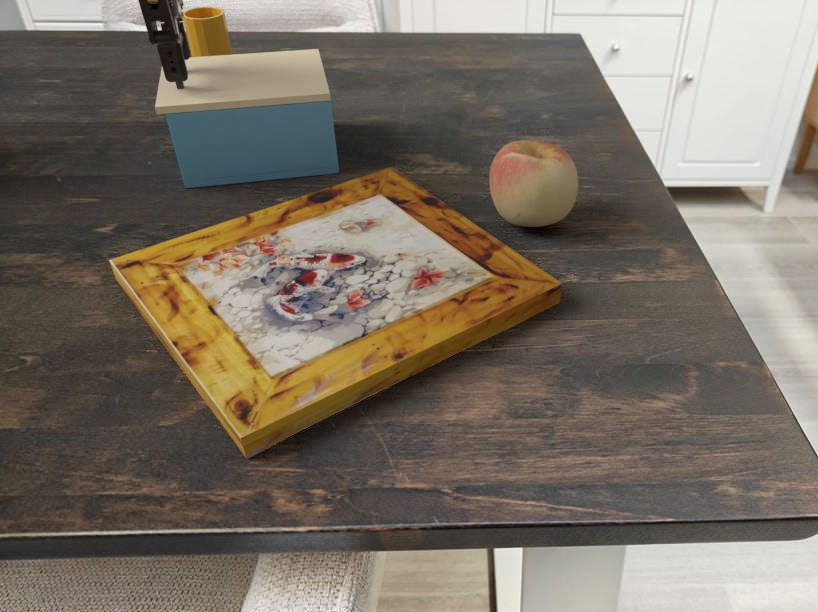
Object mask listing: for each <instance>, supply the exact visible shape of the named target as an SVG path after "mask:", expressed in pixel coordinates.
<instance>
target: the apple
mask: <svg viewBox="0 0 818 612" xmlns="http://www.w3.org/2000/svg"><path fill="white" fill-rule="evenodd" d="M488 177H489V178H488V184H489V192H490V195H491V199H492V202H493V205H494V207H495V209H496V211H497V213H498V214H499V216H501V218H502V219H503V220H505V221H506V222H508V223H509V224H511V225H513V226H517V227H523V228H524V227H525V228H527V227H528V228H539V227H546V226H550V225H553V224H557V223H558V222H560V221H562V220H563V219H565V218H566V217H567V216H568V215H569V214H570V213H571V211H572V209H573V208H574V206H575V203H576V201H577V198H578V193H579V176H578V171H577V167H576V163H575V162H574V160H573V159H572V157H571V156H570V154H569V153H568V152H567V151H565V150H564V149H563V148H561V147H560V146H558V145H556V144H553V143H549V142H545V141H541V140H530V139H529V140H526V139H522V140H515V141H510V142H509V143H506V144H504V145H503V146H502V147H501V148H500V149H499V150H498V151H497V153H496V154H495V156H494V157H493V159H492V162H491V165H490V169H489V176H488Z"/></svg>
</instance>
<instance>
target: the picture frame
mask: <svg viewBox="0 0 818 612" xmlns="http://www.w3.org/2000/svg"><path fill="white" fill-rule="evenodd" d="M108 261H109V263H110V267H111V269H112V272H113V275H114V277H115V280H116V282H117V283H118V284H119V286H120V287H121V289H123V291H124V292H125V295H126V296H127V297H128V298H129V299H130V301H131V302H132V304H133V305H134V306H135V308H136V309H137V311H138V312H139V314H141V316H142V318H143V319H144V320H145V322H146V323H147V324H148V326H149V327H150V328H151V330H152V331H153V333H154V334H155V336H157V338H158V339H159V341H160V342H161V344H162V345H163V346H164V347H165V349H166V350H167V352H168V351H169V352H168V353H169V355H170V356H171V357H172V358H173V360H174V361H175V363H176V362H177V363H176V365H178V367H179V366H180V367H179V368H180V370H181V371H182V370H183V371H182V373H183V374H184V375H185V374H186V375H185V376H186V377H188V378H187V379H188V380H189V382H190V381H191V382H190V384H191V385H192V386H193V387H194V389H195V388H196V389H195V390H196V392H197V393H198V394H199V395H200V397H201V398H202V399H203V401H204V402H205V404H206V405H207V406H208V408H209V410H210V411H211V413H213V415H214V417H216V419H217V420H218V422H219V421H220V422H219V423H220V424H221V426H222V427H223V429H224V430H225V431H226V433H227V434H228V435H229V437H230V438H231V440H232V441H233V443H236V444H235V445H236V447H237V448H238V450H240V452H241V453H242V455H243V456H244V458H245V459H246V460H248V459H250V458H252V457H254V456H256V455H259V454H260V453H262V452H264V451H266V450H268V449H270V448H272V447H273V446H272V445H274V446H276V445H278V444H280V443H282V442H284V441H286V440H287V439H286V438H288V437H290V436H292V435H293V434H295V433H297V432H299V431H300V430H303V429H304V428H308V427H309V426H310V425H313V424H314V423H316V422H319V421H320V420H321V419H324V418H327V417H328V416H330V415H332V414H333V413H336V412H339V411H340V410H341V409H344V408H345V407H348V406H349V405H352V404H354V403H356V402H358V401H360V400H362V399H363V398H366V397H368V396H370V395H372V394H374V393H376V392H379V391H380V390H382V389H384V388H386V387H388V386H391V385H393V384H394V383H397V382H399V381H402V380H403V379H405V378H407V377H410V376H412V375H413V374H415V373H418V372H420V371H422V370H425V369H426V368H428V367H430V366H432V365H433V364H437V363H439V362H441V361H442V360H444V359H446V358H448V357H451V356H453V355H455V354H457V353H459V352H461V351H463V350H465V349H467V348H469V347H471V346H473V345H475V344H477V343H479V342H481V341H483V340H485V341H487V340H489V339H491V338H493V337H495V336H497V335H499V334H501V333H503V332H505V331H508V330H509V329H511V328H513V327H515V326H517V325H519V324H522V323H523V322H525V321H527V320H529V319H531V318H533V317H535V316H537V315H539V314H541V313H543V312H545V311H547V310H549V309H551V308H553V307H555V306H557V305H559V304H560V303H561V296H562V288H563V283H562V282H560V281H559V280H558V279H556V278H555V277H553V276H552V275H550V274H549V273H548V272H546V271H544V269H541V268H540V267H539V266H537V265H535V264H534V263H533V262H531V261H530V260H528V259H526V258H525V257H524V256H522V255H521V254H520V253H518V252H516V251H515V250H514V249H513V248H511V247H509V246H508V245H506V244H505V243H503V242H502V241H500V239H497V238H496V237H494V236H493V235H492V234H490V233H489V232H487V231H486V230H484V229H483V228H482V227H480V226H479V225H477V224H476V223H474V222H472V221H471V220H469V219H468V218H467V217H466V216H464V215H462V214H461V213H459V212H458V211H456V210H455V209H453V208H452V207H450V206H449V205H447V204H446V203H445V202H443V201H442V200H440V199H439V198H438V197H436V196H434V195H433V194H431V192H429V191H427V190H425V189H424V188H423V187H422V186H420V185H418V184H417V183H415V182H414V181H412V180H411V179H410V178H408V177H407V176H405V175H404V174H402V173H400V171H398V170H396V169H395V168H394V167H392V166H390V167H387V168H384V169H381V170H378V171H375V172H371V173H369V174H365V175H362V176H360V177H357V178H354V179H350V180H347V181H345V182H341V183H339V184H336V185H332V186H330V187H327V188H323V189H321V190H317V191H314V192H311V193H308V194H305V195H302V196H300V197H296V198H293V199H290V200H287V201H283V202H281V203H278V204H275V205H272V206H269V207H266V208H263V209H259V210H256V211H254V212H250V213H247V214H244V215H241V216H239V217H236V218H233V219H230V220H227V221H223V222H221V223H218V224H214V225H212V226H208V227H205V228H202V229H199V230H196V231H193V232H190V233H187V234H184V235H180V236H178V237H175V238H172V239H170V240H169V239H168V240H166V241H163V242H159V243H156V244H154V245H151V246H147V247H144V248H141V249H137V250H135V251H133V252H129V253H126V254H123V255H120V256H117V257H114V258H111V259H108ZM556 304H557V305H556ZM554 305H555V306H554ZM552 306H553V307H552ZM550 307H551V308H550ZM546 309H547V310H546ZM544 310H545V311H544ZM540 312H541V313H540ZM538 313H539V314H538ZM502 331H503V332H502ZM500 332H501V333H500ZM492 336H493V337H492ZM490 337H491V338H490ZM488 338H489V339H488ZM486 339H487V340H486ZM483 342H484V341H483ZM481 343H482V342H481ZM479 344H480V343H479ZM477 345H478V344H477ZM475 346H476V345H475ZM473 347H474V346H473ZM471 348H472V347H471ZM469 349H470V348H469ZM467 350H468V349H467ZM465 351H466V350H465ZM463 352H464V351H463ZM461 353H462V352H461ZM459 354H460V353H459ZM457 355H458V354H457ZM455 356H456V355H455ZM453 357H454V356H453ZM451 358H452V357H451ZM441 363H442V362H441ZM439 364H440V363H439ZM437 365H438V364H437ZM425 371H426V370H425ZM308 429H309V428H308ZM292 437H293V436H292ZM290 438H291V437H290ZM285 439H286V440H285ZM288 439H289V438H288ZM283 440H284V441H283ZM281 441H282V442H281ZM279 442H280V443H279ZM277 443H278V444H277ZM271 446H272V447H271ZM265 449H266V450H265Z"/></svg>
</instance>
